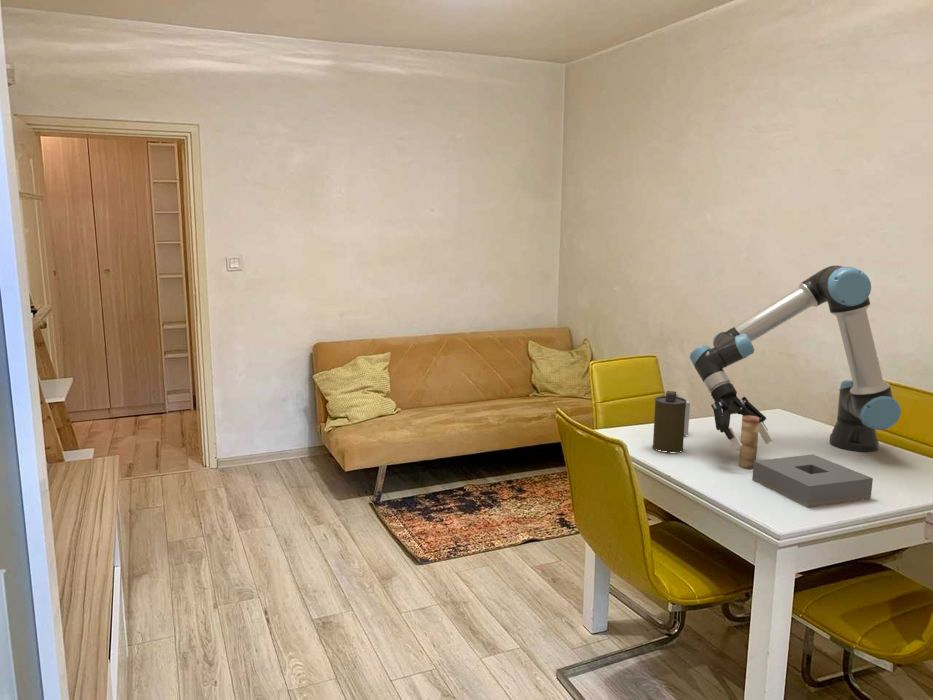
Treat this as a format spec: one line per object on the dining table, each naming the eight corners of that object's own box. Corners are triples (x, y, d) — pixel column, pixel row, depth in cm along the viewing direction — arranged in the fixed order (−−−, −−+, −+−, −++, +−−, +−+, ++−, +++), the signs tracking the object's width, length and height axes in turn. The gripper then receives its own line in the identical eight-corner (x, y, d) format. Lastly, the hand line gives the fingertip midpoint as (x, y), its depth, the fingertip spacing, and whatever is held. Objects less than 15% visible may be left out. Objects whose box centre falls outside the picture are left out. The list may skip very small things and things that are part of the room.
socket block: (811, 472, 220) (813, 454, 219) (870, 498, 199) (872, 478, 198) (752, 479, 213) (753, 460, 212) (807, 507, 193) (809, 486, 192)
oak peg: (748, 462, 229) (752, 414, 226) (759, 467, 224) (762, 418, 221) (735, 464, 227) (738, 416, 224) (745, 469, 223) (749, 420, 220)
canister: (681, 455, 236) (685, 396, 233) (650, 451, 240) (653, 393, 237) (685, 446, 246) (688, 389, 243) (654, 442, 250) (657, 387, 247)
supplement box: (688, 436, 257) (690, 402, 255) (668, 436, 257) (669, 402, 255) (682, 430, 265) (684, 397, 262) (662, 430, 265) (664, 397, 263)
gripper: (740, 390, 241) (774, 445, 231) (685, 398, 230) (718, 455, 219) (754, 378, 236) (789, 433, 225) (699, 385, 224) (733, 444, 214)
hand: (754, 444), depth 222 cm, fingers open, 13 cm apart
